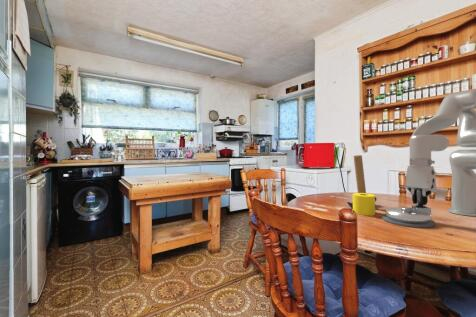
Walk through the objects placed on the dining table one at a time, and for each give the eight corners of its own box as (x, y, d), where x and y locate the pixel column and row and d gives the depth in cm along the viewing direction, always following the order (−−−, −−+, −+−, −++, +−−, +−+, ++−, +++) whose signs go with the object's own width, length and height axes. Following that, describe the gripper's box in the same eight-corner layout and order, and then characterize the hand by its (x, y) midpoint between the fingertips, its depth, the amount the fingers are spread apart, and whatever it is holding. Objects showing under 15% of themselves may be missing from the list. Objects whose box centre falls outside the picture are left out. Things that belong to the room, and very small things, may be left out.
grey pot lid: (392, 222, 98) (392, 209, 98) (381, 212, 114) (381, 201, 114) (438, 225, 94) (438, 211, 94) (419, 214, 109) (419, 203, 109)
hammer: (356, 214, 124) (350, 159, 121) (348, 212, 129) (341, 159, 125) (377, 202, 134) (371, 152, 131) (368, 201, 138) (363, 152, 135)
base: (398, 213, 116) (398, 211, 116) (444, 223, 99) (444, 221, 99) (372, 218, 109) (372, 215, 108) (418, 230, 91) (418, 227, 91)
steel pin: (418, 210, 105) (418, 183, 104) (424, 211, 102) (424, 184, 102) (415, 210, 103) (414, 184, 103) (421, 212, 101) (421, 184, 101)
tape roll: (376, 212, 119) (376, 194, 118) (372, 216, 111) (372, 197, 111) (355, 209, 125) (355, 192, 125) (350, 213, 118) (350, 195, 118)
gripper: (447, 163, 97) (446, 206, 97) (405, 162, 111) (405, 200, 112) (437, 163, 94) (437, 209, 94) (395, 162, 108) (395, 201, 109)
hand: (419, 203), depth 103 cm, fingers closed on steel pin, 2 cm apart
